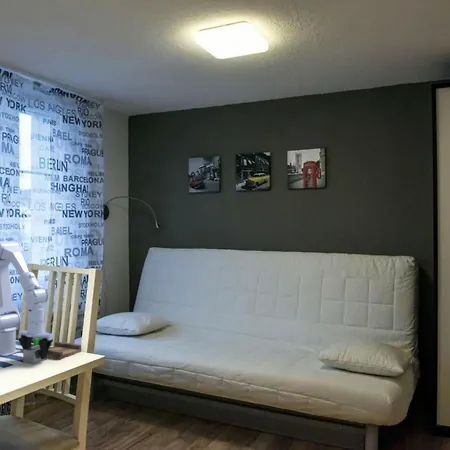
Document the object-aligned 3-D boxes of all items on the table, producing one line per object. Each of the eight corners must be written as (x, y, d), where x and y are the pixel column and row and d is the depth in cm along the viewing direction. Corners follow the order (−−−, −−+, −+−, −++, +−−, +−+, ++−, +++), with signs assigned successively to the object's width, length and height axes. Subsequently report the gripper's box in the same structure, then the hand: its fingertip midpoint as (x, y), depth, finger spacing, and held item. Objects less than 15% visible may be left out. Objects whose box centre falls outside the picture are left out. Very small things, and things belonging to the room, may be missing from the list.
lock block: (23, 363, 178) (23, 348, 178) (37, 358, 185) (37, 344, 185) (33, 364, 176) (33, 350, 176) (47, 359, 183) (47, 346, 183)
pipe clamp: (42, 351, 195) (42, 339, 195) (33, 350, 195) (33, 339, 195) (55, 344, 206) (55, 333, 206) (46, 343, 206) (46, 332, 206)
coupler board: (34, 355, 187) (34, 349, 187) (57, 348, 199) (57, 341, 199) (59, 359, 183) (59, 352, 183) (81, 351, 195) (81, 344, 195)
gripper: (12, 321, 179) (12, 357, 179) (44, 324, 174) (43, 362, 174) (26, 317, 186) (26, 352, 186) (57, 321, 181) (56, 357, 181)
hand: (35, 357), depth 180 cm, fingers open, 7 cm apart
